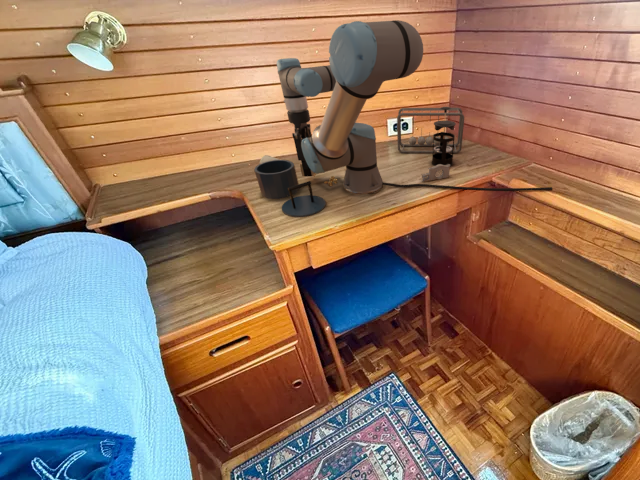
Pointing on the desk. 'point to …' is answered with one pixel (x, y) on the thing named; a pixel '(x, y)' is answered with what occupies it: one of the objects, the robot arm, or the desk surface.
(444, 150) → the french press
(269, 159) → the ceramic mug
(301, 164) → the block
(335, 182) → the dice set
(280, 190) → the pot
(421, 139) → the newton's cradle
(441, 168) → the garden wall model
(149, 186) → the desk surface
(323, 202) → the lid
